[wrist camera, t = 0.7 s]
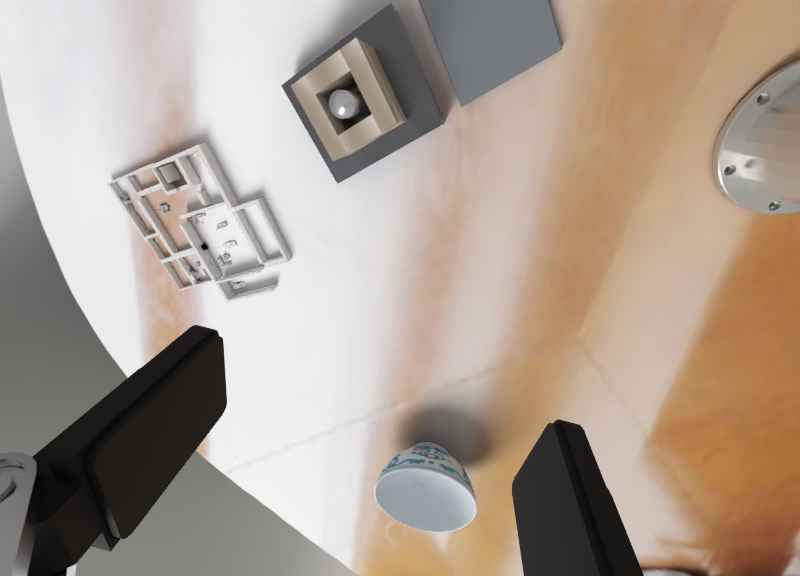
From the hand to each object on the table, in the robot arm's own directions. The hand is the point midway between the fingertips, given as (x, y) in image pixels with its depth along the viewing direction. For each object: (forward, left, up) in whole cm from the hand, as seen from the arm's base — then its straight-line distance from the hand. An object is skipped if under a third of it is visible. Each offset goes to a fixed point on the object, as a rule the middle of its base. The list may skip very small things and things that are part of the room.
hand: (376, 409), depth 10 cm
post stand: (+3, -11, -31) cm, 32 cm away
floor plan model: (+26, -8, -31) cm, 42 cm away
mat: (-9, -11, -31) cm, 34 cm away
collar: (+4, -11, -28) cm, 30 cm away
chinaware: (+21, +38, -31) cm, 53 cm away
